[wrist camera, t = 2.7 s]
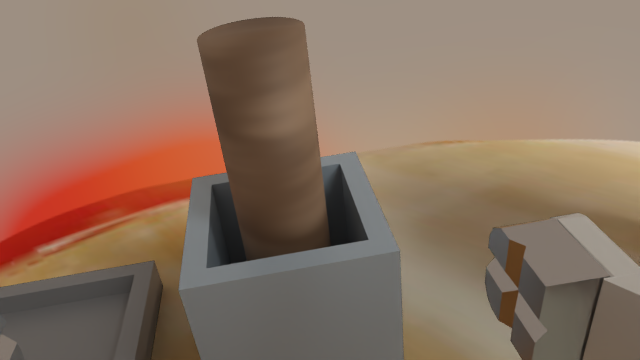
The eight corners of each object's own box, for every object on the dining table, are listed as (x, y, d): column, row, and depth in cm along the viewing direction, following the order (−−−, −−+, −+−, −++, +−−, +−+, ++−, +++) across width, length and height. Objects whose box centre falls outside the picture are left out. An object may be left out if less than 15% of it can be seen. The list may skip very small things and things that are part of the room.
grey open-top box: (364, 268, 32) (355, 151, 28) (404, 386, 24) (400, 250, 20) (223, 294, 31) (192, 178, 27) (221, 422, 24) (178, 290, 20)
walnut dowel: (334, 301, 30) (298, 12, 21) (347, 357, 26) (311, 38, 18) (263, 314, 29) (199, 26, 21) (268, 373, 26) (193, 55, 18)
